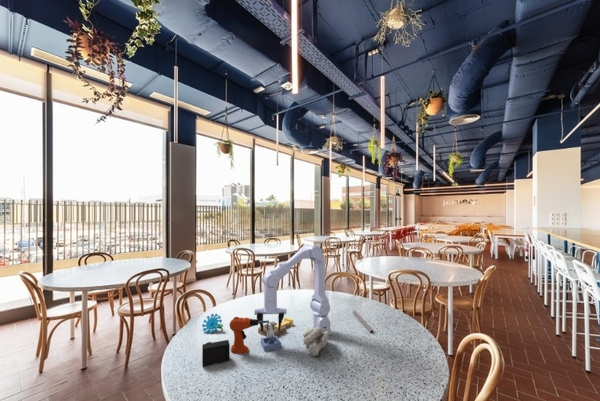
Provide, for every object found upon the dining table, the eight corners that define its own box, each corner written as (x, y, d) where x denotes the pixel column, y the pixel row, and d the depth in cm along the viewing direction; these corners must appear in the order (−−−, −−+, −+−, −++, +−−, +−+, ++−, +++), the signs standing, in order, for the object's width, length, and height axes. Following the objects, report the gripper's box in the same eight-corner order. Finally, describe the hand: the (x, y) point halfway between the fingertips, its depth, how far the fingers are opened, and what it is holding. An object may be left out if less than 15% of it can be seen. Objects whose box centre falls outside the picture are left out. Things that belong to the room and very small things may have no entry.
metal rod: (370, 334, 132) (370, 330, 132) (352, 313, 158) (352, 310, 159) (373, 333, 132) (373, 329, 132) (355, 313, 159) (355, 310, 159)
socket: (292, 328, 138) (292, 323, 138) (272, 338, 127) (272, 333, 127) (279, 323, 145) (279, 318, 145) (258, 332, 133) (258, 327, 133)
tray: (281, 347, 118) (281, 342, 118) (264, 351, 115) (264, 345, 116) (276, 340, 125) (276, 335, 125) (260, 343, 123) (260, 338, 123)
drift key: (293, 325, 142) (293, 319, 142) (279, 331, 134) (279, 326, 134) (286, 322, 146) (286, 317, 146) (272, 328, 138) (272, 323, 138)
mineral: (336, 336, 124) (326, 315, 126) (330, 352, 107) (318, 328, 109) (313, 346, 126) (304, 326, 128) (304, 364, 109) (293, 341, 112)
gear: (197, 329, 134) (208, 310, 141) (202, 334, 138) (212, 315, 145) (215, 335, 131) (226, 316, 137) (220, 340, 135) (229, 321, 141)
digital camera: (228, 355, 113) (228, 338, 113) (229, 361, 108) (229, 343, 108) (202, 360, 109) (202, 342, 109) (202, 367, 104) (202, 348, 104)
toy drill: (270, 353, 111) (266, 316, 112) (229, 355, 114) (225, 319, 115) (274, 347, 116) (269, 312, 117) (234, 349, 119) (230, 315, 120)
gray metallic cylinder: (276, 343, 121) (275, 323, 121) (270, 346, 118) (270, 325, 119) (270, 341, 123) (270, 321, 123) (265, 344, 120) (265, 324, 121)
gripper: (286, 296, 125) (287, 326, 125) (256, 297, 125) (256, 326, 125) (286, 301, 118) (286, 332, 118) (253, 302, 118) (253, 333, 118)
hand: (270, 330), depth 121 cm, fingers open, 7 cm apart
